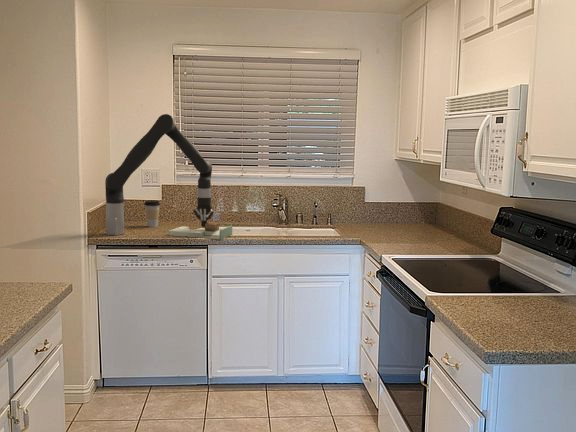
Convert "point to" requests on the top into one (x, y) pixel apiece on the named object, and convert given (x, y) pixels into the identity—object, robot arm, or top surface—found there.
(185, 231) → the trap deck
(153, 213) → the coffee cup
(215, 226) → the walnut block
